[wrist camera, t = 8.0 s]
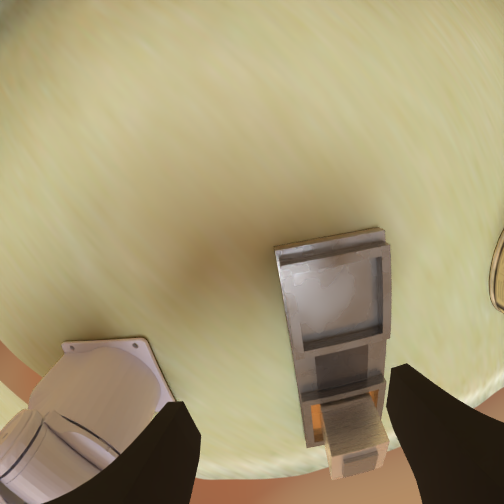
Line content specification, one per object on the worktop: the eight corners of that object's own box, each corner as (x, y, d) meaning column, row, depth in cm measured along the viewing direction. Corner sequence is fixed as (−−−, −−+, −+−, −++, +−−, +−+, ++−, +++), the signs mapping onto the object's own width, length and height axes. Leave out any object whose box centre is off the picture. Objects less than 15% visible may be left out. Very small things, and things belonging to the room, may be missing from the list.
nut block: (320, 426, 21) (332, 484, 15) (318, 398, 20) (332, 461, 14) (364, 416, 20) (383, 470, 14) (366, 386, 19) (391, 445, 13)
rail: (305, 440, 23) (307, 455, 21) (273, 246, 18) (275, 255, 16) (373, 424, 22) (378, 438, 20) (378, 227, 17) (391, 233, 15)
